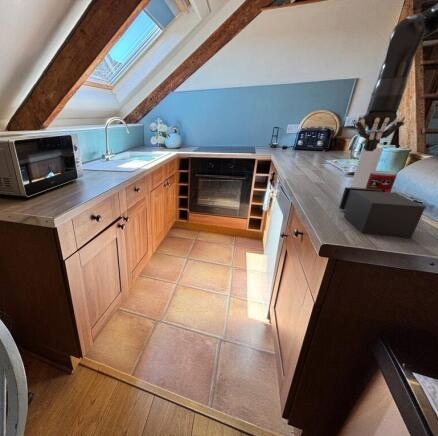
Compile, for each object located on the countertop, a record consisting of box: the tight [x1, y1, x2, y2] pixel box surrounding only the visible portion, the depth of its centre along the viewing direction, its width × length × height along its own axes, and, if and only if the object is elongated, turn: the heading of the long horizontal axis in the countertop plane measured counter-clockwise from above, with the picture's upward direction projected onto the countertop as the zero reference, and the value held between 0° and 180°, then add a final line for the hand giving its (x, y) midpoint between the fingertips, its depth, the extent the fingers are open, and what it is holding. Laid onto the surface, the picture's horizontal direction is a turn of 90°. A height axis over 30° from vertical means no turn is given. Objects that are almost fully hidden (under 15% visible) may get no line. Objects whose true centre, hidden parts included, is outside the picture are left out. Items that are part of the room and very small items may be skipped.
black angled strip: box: [338, 187, 383, 212], centre depth 83 cm, size 17×10×8 cm, turn 161°
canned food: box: [365, 170, 398, 192], centre depth 100 cm, size 8×8×11 cm
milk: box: [350, 143, 385, 189], centre depth 113 cm, size 6×6×22 cm
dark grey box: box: [343, 190, 426, 239], centre depth 74 cm, size 14×12×10 cm
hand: (368, 150), depth 84 cm, fingers closed
